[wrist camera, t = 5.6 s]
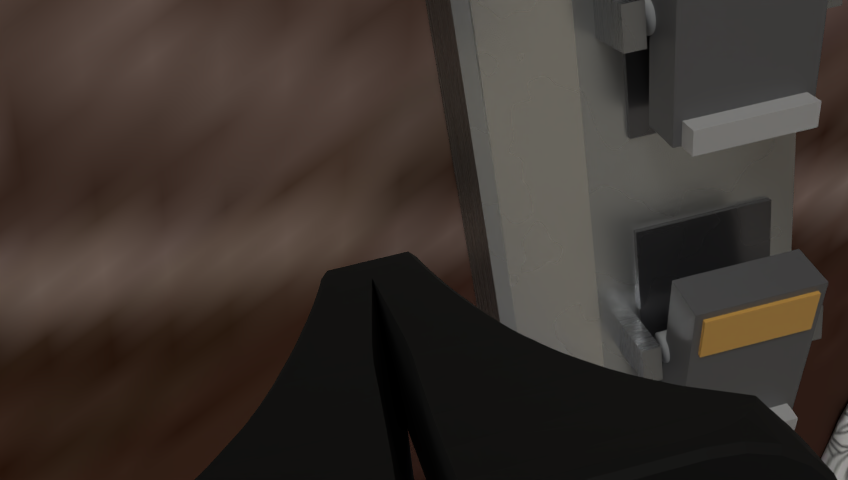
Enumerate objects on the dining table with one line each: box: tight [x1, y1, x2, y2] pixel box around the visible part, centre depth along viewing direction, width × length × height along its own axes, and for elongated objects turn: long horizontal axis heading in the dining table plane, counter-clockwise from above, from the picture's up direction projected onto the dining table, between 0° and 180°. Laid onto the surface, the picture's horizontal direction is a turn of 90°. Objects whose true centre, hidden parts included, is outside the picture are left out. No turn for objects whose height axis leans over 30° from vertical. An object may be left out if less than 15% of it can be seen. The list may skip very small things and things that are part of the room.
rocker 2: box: [654, 249, 828, 430], centre depth 20 cm, size 5×3×2 cm, turn 11°
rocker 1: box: [645, 0, 828, 157], centre depth 16 cm, size 5×3×2 cm, turn 11°
